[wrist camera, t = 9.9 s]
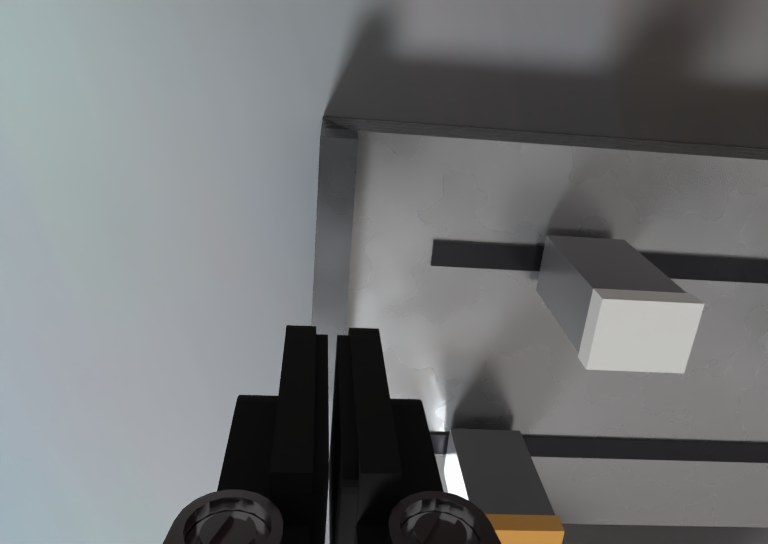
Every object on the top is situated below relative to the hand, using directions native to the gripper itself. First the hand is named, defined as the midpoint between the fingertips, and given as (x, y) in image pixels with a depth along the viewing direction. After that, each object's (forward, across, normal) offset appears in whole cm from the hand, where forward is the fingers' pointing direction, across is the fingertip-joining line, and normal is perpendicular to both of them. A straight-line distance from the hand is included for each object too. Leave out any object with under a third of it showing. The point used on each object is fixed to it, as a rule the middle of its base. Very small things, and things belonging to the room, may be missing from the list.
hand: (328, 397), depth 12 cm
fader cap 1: (+8, -6, +7) cm, 12 cm away
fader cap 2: (+8, -8, 0) cm, 11 cm away
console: (+10, -13, +4) cm, 17 cm away
